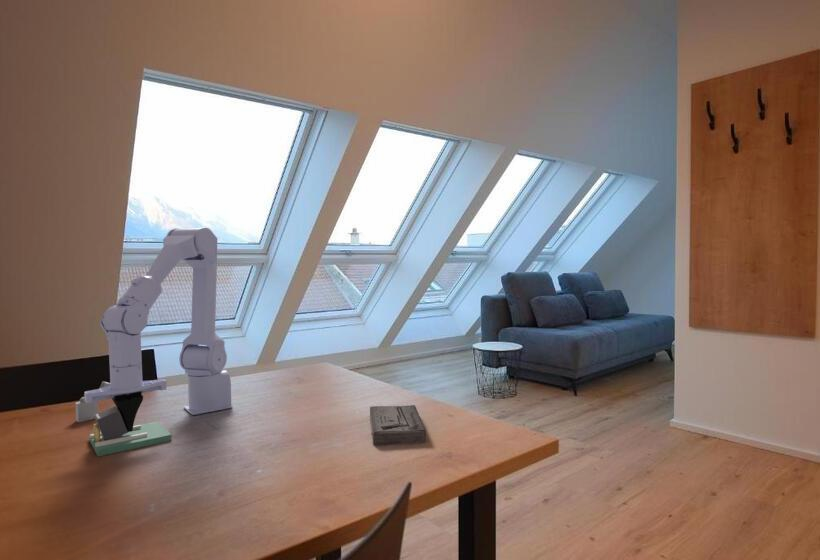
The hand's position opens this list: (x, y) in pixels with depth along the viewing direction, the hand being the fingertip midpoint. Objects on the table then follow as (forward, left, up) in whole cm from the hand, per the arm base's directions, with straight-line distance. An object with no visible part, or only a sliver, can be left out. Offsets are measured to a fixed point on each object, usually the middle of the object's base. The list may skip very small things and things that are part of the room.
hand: (128, 430), depth 105 cm
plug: (+2, 0, 0) cm, 2 cm away
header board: (0, 0, -2) cm, 2 cm away
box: (-46, +30, -3) cm, 55 cm away
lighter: (+3, -22, -2) cm, 22 cm away
